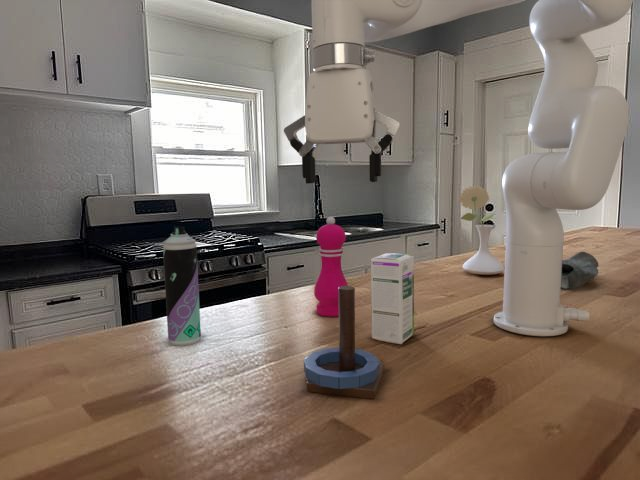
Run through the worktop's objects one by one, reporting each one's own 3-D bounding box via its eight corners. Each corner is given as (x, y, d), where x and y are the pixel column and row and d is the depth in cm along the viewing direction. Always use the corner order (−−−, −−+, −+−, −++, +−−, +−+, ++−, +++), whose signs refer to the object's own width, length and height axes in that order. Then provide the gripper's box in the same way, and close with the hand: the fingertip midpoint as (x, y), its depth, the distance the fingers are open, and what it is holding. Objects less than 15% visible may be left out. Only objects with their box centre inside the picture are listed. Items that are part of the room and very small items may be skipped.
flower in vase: (508, 271, 134) (511, 185, 131) (499, 279, 124) (503, 186, 121) (462, 267, 141) (464, 185, 138) (451, 274, 131) (453, 186, 128)
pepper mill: (346, 318, 92) (345, 218, 90) (311, 316, 94) (309, 218, 91) (351, 308, 99) (350, 215, 97) (318, 306, 101) (316, 215, 98)
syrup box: (402, 345, 77) (403, 259, 75) (370, 338, 80) (370, 256, 78) (414, 335, 82) (415, 254, 80) (383, 329, 85) (384, 251, 83)
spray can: (171, 347, 77) (164, 229, 75) (166, 338, 82) (159, 226, 80) (204, 342, 80) (198, 226, 77) (197, 332, 85) (191, 224, 82)
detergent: (586, 293, 109) (617, 274, 126) (585, 263, 108) (616, 248, 125) (529, 288, 118) (565, 271, 135) (528, 260, 118) (564, 247, 134)
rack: (384, 370, 67) (384, 281, 66) (374, 399, 59) (374, 298, 57) (324, 364, 70) (323, 278, 68) (306, 391, 61) (304, 294, 59)
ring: (385, 362, 67) (385, 352, 67) (367, 393, 58) (367, 381, 57) (320, 354, 71) (320, 344, 71) (292, 381, 61) (292, 370, 61)
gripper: (401, 64, 68) (402, 180, 71) (290, 73, 73) (294, 183, 75) (397, 51, 61) (397, 181, 64) (273, 63, 66) (278, 184, 68)
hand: (341, 182), depth 69 cm, fingers open, 9 cm apart
